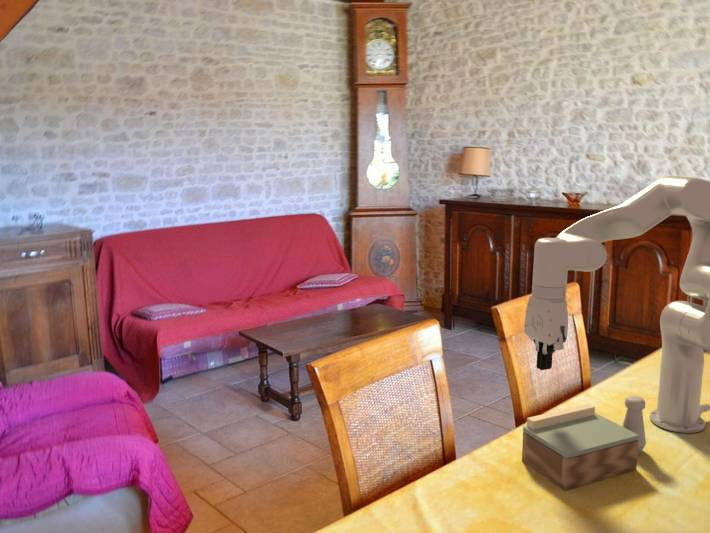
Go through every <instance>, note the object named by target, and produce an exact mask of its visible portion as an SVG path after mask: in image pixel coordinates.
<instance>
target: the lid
mask: <svg viewBox="0 0 710 533" xmlns="http://www.w3.org/2000/svg"><path fill="white" fill-rule="evenodd" d="M622 426H623V425H620V424H618V423H616V422H614V421H612V420H610V419H608V418H606V417H604V416H602V415H601V414H598V413H596V407H595V406H594V405H592V404H590V403H586V404H582V405H581V404H580V405H578V406H573V407H568V408H563V409H561V410H556V411H552V412H547V413H543V414H539V415H534V416H530V417H526V425H525V426H523V427H522V432H525V433H527V434H528V435H530V436H531V437H533V438H535V439H536V440H538V441H539V442H541V443H543V444H544V445H546V446H547V447H549V448H551V449H552V450H554V451H555V452H557V453H558V454H560V455H562V456H563V457H565V458H566V459H568V458H572V457H575V456H579V455H583V454H586V453H590V452H594V451H598V450H601V449H605V448H609V447H612V446H616V445H620V444H624V443H627V442H631V441H635V440H638V439H639V435H638V434H636V433H634V432H632V431H630V430H628V429H626V428H624V427H622Z"/></svg>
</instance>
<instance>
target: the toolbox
mask: <svg viewBox="0 0 710 533" xmlns="http://www.w3.org/2000/svg"><path fill="white" fill-rule="evenodd" d="M638 443H639V440H635V441H631V442H627V443H624V444H620V445H616V446H612V447H609V448H605V449H601V450H598V451H594V452H590V453H586V454H583V455H579V456H575V457H572V458H568V459H566V458H565V457H563V456H562V455H560V454H558V453H557V452H555V451H554V450H552V449H551V448H549V447H547V446H546V445H544V444H543V443H541V442H539V441H538V440H536V439H535V438H533V437H531V436H530V435H528V434H527V433H525V432H524V431H522V445H521V446H522V450H521V452H522V453H521V454H522V455H521V462H523V463H524V464H526V465H527V466H529V467H530V468H532V469H533V470H534V471H536V472H537V473H539V474H540V475H541V476H543V477H545V478H546V479H547V480H549V481H550V482H552V483H554V484H555V485H556V486H557V487H559V488H560V489H561V490H563V491H565V492H566V491H569V490H572V489H576V488H579V487H582V486H586V485H590V484H594V483H596V482H599V481H603V480H606V479H610V478H613V477H614V478H615V477H616V476H620V475H623V474H626V473H630V472H634V471H637V467H638V466H637V465H638V455H639V454H638Z"/></svg>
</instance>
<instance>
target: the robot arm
mask: <svg viewBox="0 0 710 533" xmlns="http://www.w3.org/2000/svg"><path fill="white" fill-rule="evenodd" d="M675 214H676V215H684V216H685V217H686V218H687V220H688V222H689V224H690V227H691V231H692V239H691V244H690V247H689V251H688V253H687V257H686V260H685V262H684V265H683V268H682V272H681V274H680V279H679V287H680V290H681V292H683V293H684V294H686V295H688V296H690V297H692V298H694V299H697V300H701V301H704V302H707V306H703V305H701V304H698V303H694V302H691V301H686V300H675V301H674V300H673V301H672V302H669V303H668V304H667V305H666V306H665V307H663V309H662V310H661V313H660V319H659V326H660V333H661V334H660V335H661V358H660V359H661V360H660V370H659V384H658V393H657V405H656V406H657V407H656V409H654V410H652V411H651V412H650V413H649V420H650V422H652V423H653V424H654V425H655V426H657V427H659V428H661V429H664V430H667V431H670V432H675V433H684V434H692V433H693V434H694V433H698V432H701V431H703V430H704V429H705V427H706V422H705V419H703V417H701V415H702V414H704V413H706V412H710V404H709V403H704V404H703V403H702V404H701V395H702V384H703V376H704V366H705V355H704V350H706V351H710V180H707V179H704V178H703V179H702V178H697V177H687V176H677V175H676V176H675V175H674V176H673V175H670V176H663V177H661V178H658V179H657V180H655V181H653V183H651V184H649V185H647V186H646V187H644V188H643V189H641V190H640V191H639V192H636V194H634V195H633V196H631V197H630V198H628V199H627V200H625V201H623V202H621V204H619V205H616V206H614V207H611V208H607V209H605V210H603V211H599V212H597V213H594V214H592V215H590V216H586V217H585V218H582V219H579V220H578V221H576V222H575V223H573V224H572V225H570V226H569V227H567V228H566V229H564V230H562V231H561V232H560V233H559V234H558V235H557V236H555V237H541V238H538V239H537V240H536V241H535V243H534V251H533V252H534V253H533V270H532V285H531V294H530V295H529V296H528V301H527V305H526V310H525V316H524V317H525V318H524V327H523V330H524V331H523V332H524V334H525V335H526V336H527V337H528V338H529V339H530V340H531V341H533V343H534V345H535V346H534V347H535V348H534V349H535V351H536V352H537V353H536V366H535V367H536V369H539V370H541V371H546V370H551V369H552V367H553V354H555V352H556V351H562V350H564V348H565V347H564V343H566V341H567V339H568V332H569V330H568V329H569V314H568V313H569V312H568V301H567V286H568V275H569V274H568V273H569V272H568V271H577V272H585V273H587V272H594V271H596V270H599V269H600V268H601V267H603V266H604V265H605V263H606V261H607V258H608V253H607V249H606V247H605V245H603V243H604V242H608V241H609V242H610V241H613V240H614V241H615V240H625V239H631V238H635V237H639V236H642V235H643V234H645V233H646V232H648V231H649V230H651V229H652V228H654V227H655V226H657V225H659V224H660V223H661V222H663V221H664V220H666V219H667V218H669V217H670V216H672V215H675Z"/></svg>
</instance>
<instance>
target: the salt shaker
mask: <svg viewBox="0 0 710 533" xmlns="http://www.w3.org/2000/svg"><path fill="white" fill-rule="evenodd" d="M624 406H625V408H627V410H626V413H625V416H624V419H623V422H622V425H621V426H622V427H624V428H626V429H628V430H630V431H632V432H634V433H636V434H638V435H639V439H638V440H639V443H638V455H639V454H640V453H642V452H643V450H644V448H645V447H646V444H647V440H646V431H645V424H644V415H643V414H644V413H643V411H644V409H645V408H646V401H645V399H644V398H643V397H641V396H636V395H628V396H626V398H625V400H624Z"/></svg>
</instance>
